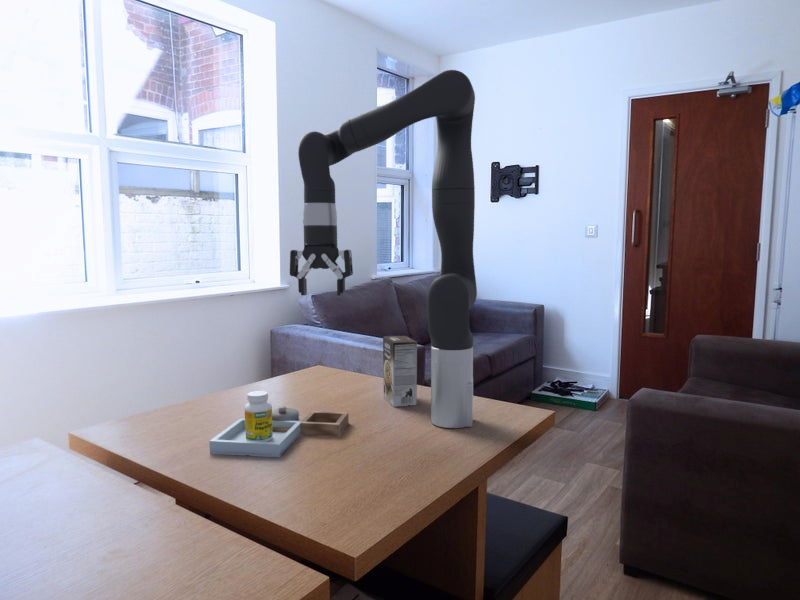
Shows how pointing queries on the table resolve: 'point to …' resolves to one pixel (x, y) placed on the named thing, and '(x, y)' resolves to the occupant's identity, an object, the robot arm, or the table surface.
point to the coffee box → (400, 370)
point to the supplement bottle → (258, 417)
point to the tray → (236, 443)
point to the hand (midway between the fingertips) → (321, 295)
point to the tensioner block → (313, 421)
